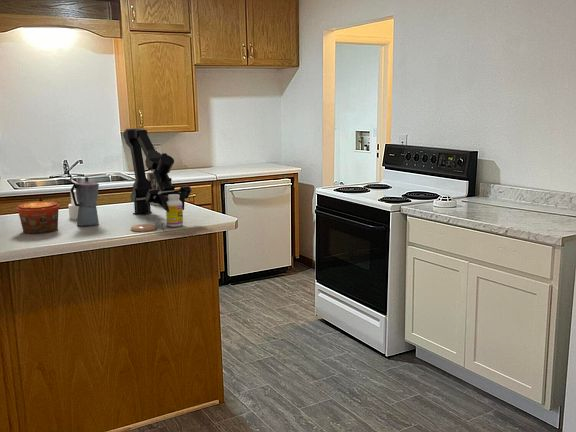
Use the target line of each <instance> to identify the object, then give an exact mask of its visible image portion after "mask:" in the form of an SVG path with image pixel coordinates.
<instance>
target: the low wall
mask: <svg viewBox="0 0 576 432" xmlns="http://www.w3.org/2000/svg"><path fill="white" fill-rule="evenodd" d="M155 225H156V228H159V229H160V230H161V231H163V230H164V223H163V222H162V221H161V220H159V219H156V218H155Z"/></svg>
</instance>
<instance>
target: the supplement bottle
mask: <svg viewBox="0 0 576 432" xmlns="http://www.w3.org/2000/svg"><path fill="white" fill-rule="evenodd" d="M179 198H180V195H179V194H170V195H168V199H169V201H167V202H166V203H167V206H168V209H169V211H168V212H167V211H166V210H165V211H166V215H165V217H166V226H167V227H169V228H170V227H171V228H172V227H174V228H176V227H181V226H183V225H184V215H183V214H184V212H183V211H184V210H182V202H181V201H180V200H179Z"/></svg>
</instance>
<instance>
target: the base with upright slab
mask: <svg viewBox="0 0 576 432" xmlns="http://www.w3.org/2000/svg"><path fill="white" fill-rule="evenodd" d="M74 193H75V199H76V202H77V204H78V201H77V196H76V190H75V189H74ZM78 208H79V206H75V204H74V200H73V197H72V193H71V189H70V203H69V204H68V216H69V217H68V218H69V219H70V220H77V217H78Z"/></svg>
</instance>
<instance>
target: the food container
mask: <svg viewBox="0 0 576 432" xmlns="http://www.w3.org/2000/svg"><path fill="white" fill-rule="evenodd" d="M59 208H61V205H60V204H59V203H58V202H56V201H35V202H32V201H31V202H25V203H22V204H19V205H18V206H17V207H16V209H15V210H16V211H18V216H19V221H20V224H21V227H22V232H23V233H25V234H29V235H39V234H47V233H52V232H55V231H57V230H58V229H59Z"/></svg>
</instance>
